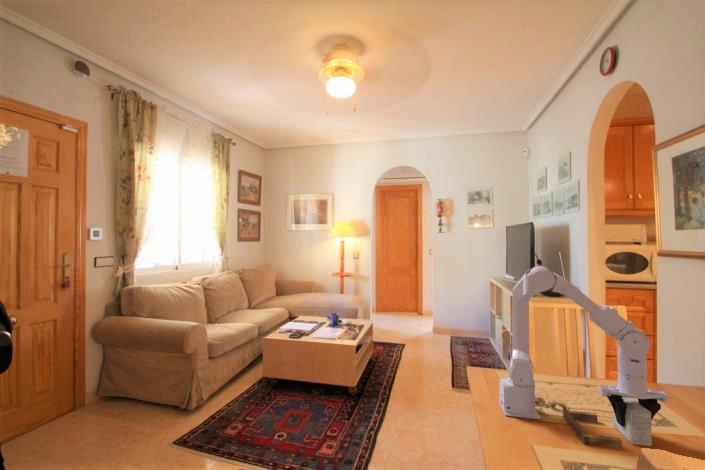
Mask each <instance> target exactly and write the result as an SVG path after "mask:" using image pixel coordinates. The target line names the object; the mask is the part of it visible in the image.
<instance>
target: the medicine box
mask: <svg viewBox="0 0 705 470" xmlns="http://www.w3.org/2000/svg"><path fill="white" fill-rule="evenodd" d="M622 399H623V401H624V402H625V403H626V404H627V407H626V411H625V426H621V425H620V424H619V423H618V422H617V420H616V416H615V413H614V411H613V413H612V414H613V427H614V428H615V429H616V430H617V431H618V432H619V433H620V434H622V436H623V437H624V438H625V439H627V440H628V442H629V443H631V445H635V446H645V447H646V446H647V447H652V443H653V442H652V437H653V435H652V421H651V412H650V411H648V410H647V409H646V408H644V407H643V406H642V405H641V404H639V403H638V400H636V399H635V398H627V397H622Z"/></svg>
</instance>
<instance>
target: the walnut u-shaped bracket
mask: <svg viewBox="0 0 705 470" xmlns="http://www.w3.org/2000/svg"><path fill="white" fill-rule="evenodd" d="M562 417H563V419H564V421H566V423H567V425H568V426H569V427H570V428H571V429H572V430H573V432H574V433H575V434H576V436H577V437H578V438H579V440H580V441H581V443H582V444H583V445H584V446H585V445H587V446H593V447H594V446H595V447H601V448H602V447H603V448H610V449H618V450H622V449H623V440H621V438H620V437H613V436H606V435H598V434H597V435H596V434H588V433H587V432H586V431H585V430H584V428H582V426H581V425H580V424H579V422H587V423H596V424H597V423H598V415H597V413H595V412H586V411H578V410H568V409H563V410H562ZM578 421H579V422H578Z"/></svg>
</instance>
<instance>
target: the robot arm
mask: <svg viewBox="0 0 705 470" xmlns="http://www.w3.org/2000/svg"><path fill="white" fill-rule="evenodd" d="M550 289H551V292H552V293H558V294H563V295H564V296H566V297H567V298H568V299H570V300H571V301H572V302H574V303H575V304H577V306H579V307H581V308H582V309H583V310H584V311H586V312H587V313H588V318H589V321H591V322H592V323H593V324H594V325H596V326H597V327H599V328H600V330H602V331H603V332H605V333H606V334H607V335H608V336H610V338H614V340H615V341H616V342H618V344H617V349H618V350H617V385H616V384H615V385H598V393H599V395H601V396H602V397H603V398H604V397H606V398H607V399H608V401H609V403H610V405H611V407H612V410H613V412H614V413H615V416H616V420H617V422H618V423H619V424H620V425H621V426H625V411H626V407H627V404H626V403H625V402H624V401H623V399H622V397H627V398H633V399H635V400H637V402H638V403H639V404H641V405H642V406H643V407H644V408H646V409H647V410H648V411H650V412H651V422H652V421H653V418H654V417H655V415H656V414H657V413H658V412H659V411H660V410H662V404H661V403H659V402H658V401H660V402H662V403H669V395H668V394H667V393H666V392H664V391H663V390H661V391H660V390H653V389H650V388H649V389H648V372H647V371H648V359H647V352H648V351H649V350H650V349H651V346H652V344H651V343H650V340H649V338H648V337H647V335H646V334H645V333H643V332H642V331H641V330H640V329H639V328H637V326H635V323H634V322H632V321H630V320H629V321H628V320H626V319H625V318H624V317H623V316H621V315H620V314H619V313H618V309H616V308H614V307H613V306H608V305H607V304H597V303H596V302H595V301H593V300H592V299H591V298H590V297H588V295H586V294H585V293H583V292H582V291H581V290H580V289H578V288H577V287H576V285H575V286H574V285H573V283H571V281H569V280H567V279H566V278H565V277H562V276H561V275H559V274H558V273H556V272H554V271H551V270H550V268H548V267H546V266H543V265H536V266H533V267H532V268H530V269H529V270H527V271H525V273H524V274H523V275H522V277H521V278H520V279H519V280H518V282H517V283H516V284H515V286H513V288H512V292H511V296H512V297H511V299H512V300H511V301H512V302H511V303H512V307H511V308H512V310H511V311H512V312H511V315H512V319H511V320H512V325H511V326H512V356H511V358H510V360H509V370H508V376H507V378H500V379H499V385H498V387H499V390H498V391H499V400H498V402H499V405H500V407H501V409H502V411H503V415H505V416H508V417H515V418H516V417H517V418H526V419H533V420H541V416H540V415H539V413H538V411H537V409H536V380H534V373H533V368H534V365H533V362H532V360H531V358H530V299H531V298H533V297H534V296H535V295H537V294H539V293H542V292H546V291H549V290H550ZM614 413H613V414H614Z"/></svg>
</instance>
